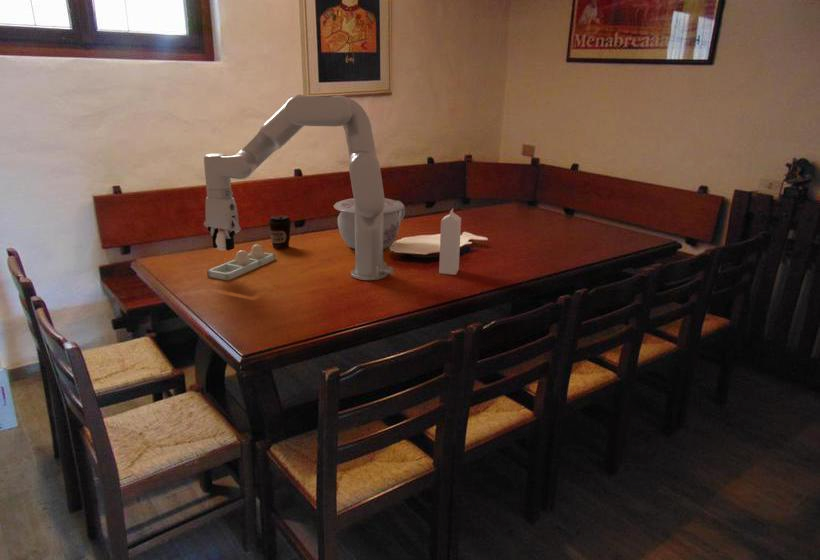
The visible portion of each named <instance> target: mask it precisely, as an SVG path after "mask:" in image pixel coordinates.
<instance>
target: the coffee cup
mask: <svg viewBox="0 0 820 560" xmlns="http://www.w3.org/2000/svg"><path fill="white" fill-rule="evenodd" d="M291 225H292V219H291V218H290V216H288V215H284V214H283V215H271V216H270V217H269V220H268V226H269V233H270V239H271V240H270V241H271V244H272V248H273V249H274V250H279V251H280V250H287V249H289V248H290V239H291V233H292V232H291V231H292V230H291Z"/></svg>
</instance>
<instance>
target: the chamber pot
mask: <svg viewBox="0 0 820 560" xmlns="http://www.w3.org/2000/svg"><path fill="white" fill-rule="evenodd" d="M384 199H385V206H384V209H383V224H384V226H383V229H384V231H383V250H385V249H387V248H389V247H390V245H391V244H392V245H393V244H394V241H395V240H396V239H397V237H398V235H399V232H400V227H401V222H402V221H403V219H404V217H405V215H406V206H405V204H404V203H403V202H402V201H401V200H395V199H392V198H386V197H384ZM333 207H334V210H337V211H338V212H339V215H338V216H337V227H338V231H339V234H340V236H341V238H342V240H343V241H344V243H345V244H346V245H347V246H348V247H349V248H352V249H354V250H355V207H354V197H353V198H347V199H344V200H340V201H337V202H335V203H334V205H333ZM392 245H391V246H392Z"/></svg>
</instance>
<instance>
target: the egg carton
mask: <svg viewBox="0 0 820 560" xmlns="http://www.w3.org/2000/svg"><path fill="white" fill-rule="evenodd" d="M247 254H248V257H249V260H250V261H249V264H247V265H245V266H239V265H237V264H236V263H235V259H233V260H230V261H227V262H225V263H223V264H220V265H217V266H214V267H212V268H210V269H207V270H206V276H207V278H208V277H209V278H214V279H218V280H225V281H230V280H232V279H234V278H237V277H239V276H241V275H244V274H246V273H248V272H250V271H253V270H255V269H257V268H259V267H261V266H264V265H266V264H269V263H270V262H273V261H275V260H276V253H272V252H271V253H270V252H265V251H264V257H263V258H262V259H259V260H257V259H252V258H251V256H250V252H249V253H247Z"/></svg>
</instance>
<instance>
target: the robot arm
mask: <svg viewBox="0 0 820 560" xmlns="http://www.w3.org/2000/svg"><path fill="white" fill-rule="evenodd" d="M341 126H342V128H343V130H344V134H345V139H346V145H347V151H348V159H349V160H348V161H349V162H348V170H349V171H348V172H349V178H350V182H351V190H352V195H353V198H354V207H355V249H354V257H355V258H354V259H355V263H354V264H355V265H354V266H355V267H354V268H352V270H350V275H351V277H352V278H354V279H357V280H361V281H377V280H378V281H379V280H382V279H384V278H386V277H387V276H388V275H392V276H393V274H394V267H393V266H388V265H387V262H386V261H384V249H383V231H384V229H383V226H384V224H383V209H384V206H385V199H384V198H385V193H384V192H385V191H384V185H383V178H382V171H381V165H380V161H379V159H378V156H377V152H376V147H375V146H376V145H375V141H374V135H373V130H372V129H373V128H372V124H371V121H370V118H369V116H368V113H367V112H366V111H365V109H364V108H363V107H362V105H360V103H358V102H357V101H355V100H353V99H351V98H350V97H347V96H345V95H340V94H337V95H332V96H308V95H305V94H296V95H293V96H292V97H290V98H288V100H287V101H286V102H285V104H283V105H282V106H281V108H279V109H278V110H277V111H276V112H275V113H274V114H273V115H272V116H271V117H270V118H269V119H267V121H266V122H265V123H264V124H262V126H261V127H260V129H259V131H258V132H257V133H256V135H255V136H253V138H251V140H249V142H248V143H247V144H245V146H244V147H242V149H240V150H239V151H238V152H237V153H236V154H234V155H227V154H225V153H218V152H217V153H214V152H213V153H208V154H205V155H204V158H203V164H204V176H205V186H206V187H205V190H206V198H205V207H204V208H205V209H204V210H205V220H204V222H203V226H204V227H206V229H207V231H208V232H209V234H210V236H211V237H212V247H213V248H214V249H217V245H216V238H217V233H218V232H219V231H220V230H223V231H225V233H226V237H227V238H226V239H225V241H226V251H230V250H233V249H235V239H234V238H236V235H237V234H238V233H239V232H241V230H242V229H241V227H240V224H239V222H240V221H239V214H238V213H239V212H238V209H237V203H236V201H235V198H234V197H233V195H234V192H233V190H232V184H231V183H232V182H231V181H232V179H234V180H245V179H247V178H249V177H250V176H251V175H252V174H253V172H255V171H256V170H257V169H258V167H260V166H261V165H262V164H263V163H264V161H266V160H267V159H268V158H269V157H271V156H272V154H273V153H275V152H277V151H278V150H280V149H281V148H283V146H285V145H286V144H287V143H288V142H289V141H290V140H291V139H292V138H293V137H294V136H295V135H297V133H298V132H299V131H300V130H301V129H302V128H303V127H341Z"/></svg>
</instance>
